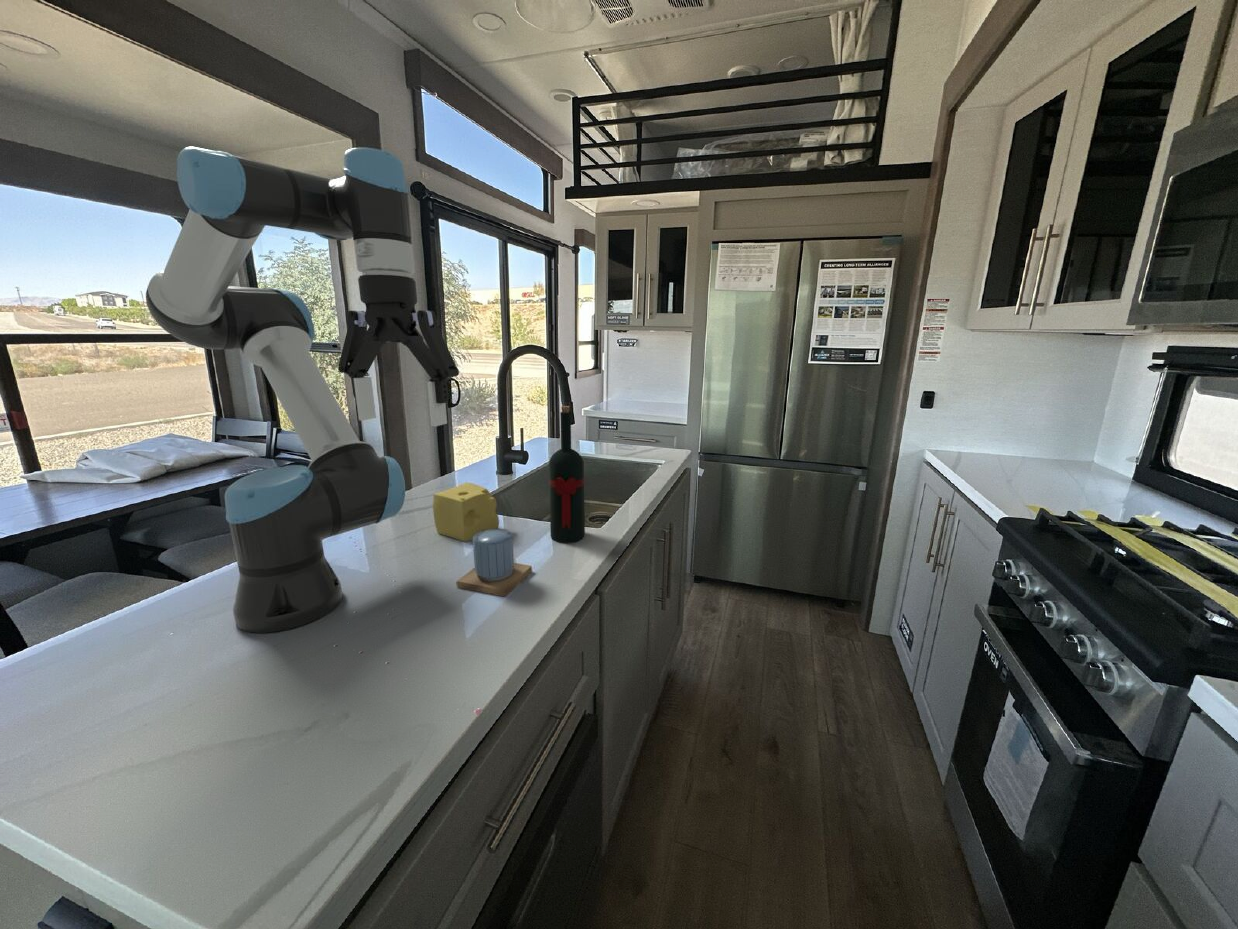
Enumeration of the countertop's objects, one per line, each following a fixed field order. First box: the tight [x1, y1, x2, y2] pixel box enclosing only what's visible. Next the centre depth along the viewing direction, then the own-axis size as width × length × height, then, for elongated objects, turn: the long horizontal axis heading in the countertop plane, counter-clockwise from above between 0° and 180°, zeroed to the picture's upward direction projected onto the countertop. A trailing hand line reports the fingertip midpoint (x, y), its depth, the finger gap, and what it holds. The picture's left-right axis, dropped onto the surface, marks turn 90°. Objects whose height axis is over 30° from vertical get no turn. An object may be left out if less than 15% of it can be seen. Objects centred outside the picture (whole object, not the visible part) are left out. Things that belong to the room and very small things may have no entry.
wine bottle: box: [548, 405, 586, 544], centre depth 107 cm, size 8×10×30 cm
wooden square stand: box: [456, 562, 533, 597], centre depth 92 cm, size 10×10×7 cm
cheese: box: [432, 481, 500, 542], centre depth 114 cm, size 10×11×10 cm
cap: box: [472, 528, 515, 578], centre depth 91 cm, size 7×7×6 cm
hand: (402, 422), depth 75 cm, fingers open, 13 cm apart
